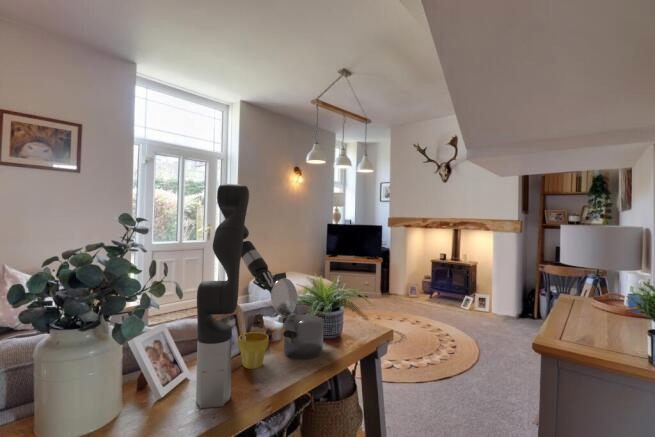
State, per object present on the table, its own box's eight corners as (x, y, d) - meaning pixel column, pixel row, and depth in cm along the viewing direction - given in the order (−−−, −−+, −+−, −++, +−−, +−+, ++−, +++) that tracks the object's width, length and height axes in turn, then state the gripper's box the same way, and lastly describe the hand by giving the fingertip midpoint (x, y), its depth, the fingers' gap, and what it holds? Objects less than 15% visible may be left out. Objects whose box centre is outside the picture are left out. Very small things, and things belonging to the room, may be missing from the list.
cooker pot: (333, 347, 137) (333, 316, 137) (303, 365, 121) (304, 330, 121) (299, 338, 146) (299, 309, 146) (267, 353, 130) (268, 321, 130)
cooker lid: (293, 270, 145) (289, 271, 146) (269, 275, 133) (265, 276, 134) (299, 310, 143) (295, 311, 144) (276, 319, 131) (272, 319, 132)
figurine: (260, 338, 146) (261, 309, 146) (269, 343, 141) (270, 313, 141) (245, 341, 141) (246, 312, 141) (254, 347, 136) (255, 316, 136)
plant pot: (273, 360, 124) (273, 333, 123) (259, 373, 114) (260, 343, 114) (247, 356, 127) (247, 330, 126) (231, 368, 117) (232, 339, 117)
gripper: (248, 258, 140) (270, 293, 133) (270, 255, 151) (291, 287, 145) (238, 270, 143) (260, 304, 136) (261, 266, 154) (281, 298, 147)
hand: (276, 295), depth 140 cm, fingers closed
